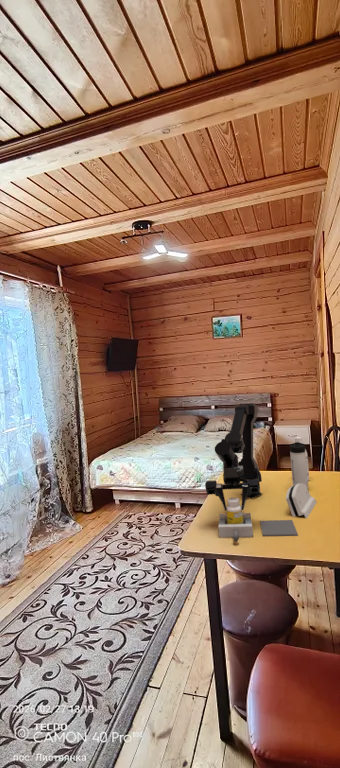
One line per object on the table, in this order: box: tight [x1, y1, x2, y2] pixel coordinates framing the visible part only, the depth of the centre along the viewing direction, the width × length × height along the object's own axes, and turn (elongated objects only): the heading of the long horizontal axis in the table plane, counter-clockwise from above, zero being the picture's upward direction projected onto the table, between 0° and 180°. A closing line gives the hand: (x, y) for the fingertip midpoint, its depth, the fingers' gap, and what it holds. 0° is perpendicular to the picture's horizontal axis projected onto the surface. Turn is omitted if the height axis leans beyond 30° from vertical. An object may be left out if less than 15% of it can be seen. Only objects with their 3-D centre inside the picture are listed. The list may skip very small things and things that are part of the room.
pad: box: [259, 519, 299, 537], centre depth 127 cm, size 11×11×1 cm
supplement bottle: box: [225, 496, 244, 524], centre depth 129 cm, size 5×5×10 cm
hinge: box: [285, 483, 318, 519], centre depth 141 cm, size 17×5×10 cm, turn 147°
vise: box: [217, 512, 254, 542], centre depth 126 cm, size 16×11×4 cm, turn 171°
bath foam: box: [294, 436, 310, 481], centre depth 173 cm, size 7×7×20 cm
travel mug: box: [289, 441, 309, 490], centre depth 161 cm, size 6×7×20 cm
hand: (234, 510), depth 127 cm, fingers closed on supplement bottle, 5 cm apart
